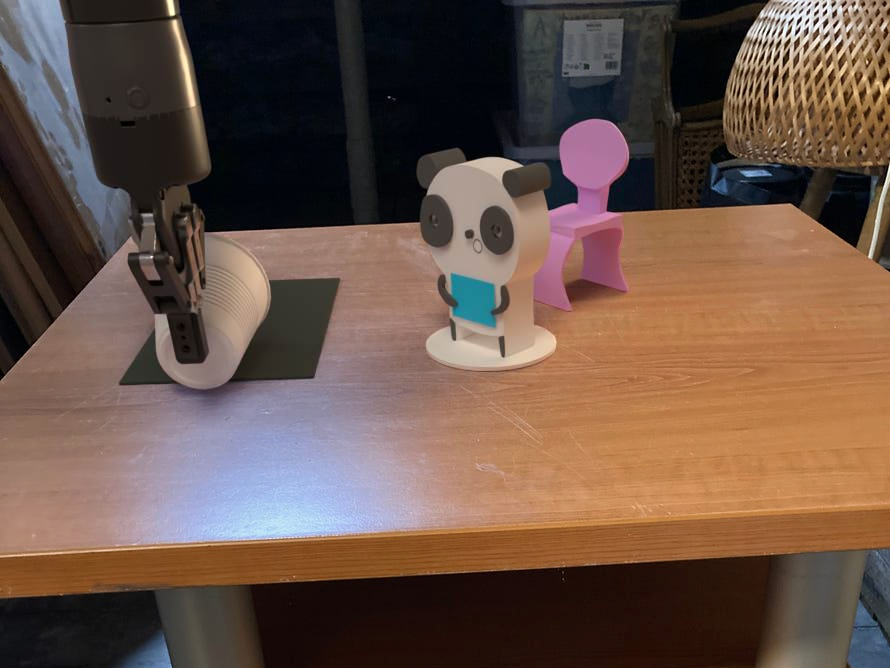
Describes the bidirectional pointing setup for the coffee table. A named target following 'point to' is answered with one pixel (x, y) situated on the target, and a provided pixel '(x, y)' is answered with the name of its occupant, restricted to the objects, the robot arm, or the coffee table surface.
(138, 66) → the robot arm
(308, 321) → the mat
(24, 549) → the coffee table surface
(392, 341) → the coffee table surface
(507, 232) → the panda figurine
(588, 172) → the toy chair
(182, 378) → the cup
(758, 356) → the coffee table surface
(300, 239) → the coffee table surface
